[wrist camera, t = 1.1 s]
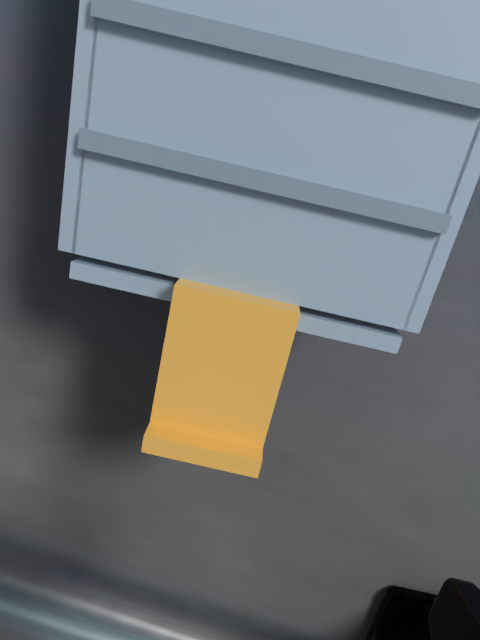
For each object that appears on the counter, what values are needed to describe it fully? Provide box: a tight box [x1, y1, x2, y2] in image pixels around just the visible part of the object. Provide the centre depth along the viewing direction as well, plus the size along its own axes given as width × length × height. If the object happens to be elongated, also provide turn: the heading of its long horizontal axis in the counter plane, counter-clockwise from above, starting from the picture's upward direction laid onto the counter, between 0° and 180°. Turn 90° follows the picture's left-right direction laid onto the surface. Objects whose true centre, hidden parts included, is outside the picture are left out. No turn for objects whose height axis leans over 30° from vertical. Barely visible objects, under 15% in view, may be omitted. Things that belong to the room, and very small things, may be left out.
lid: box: [58, 0, 480, 478], centre depth 12 cm, size 17×11×3 cm, turn 167°
